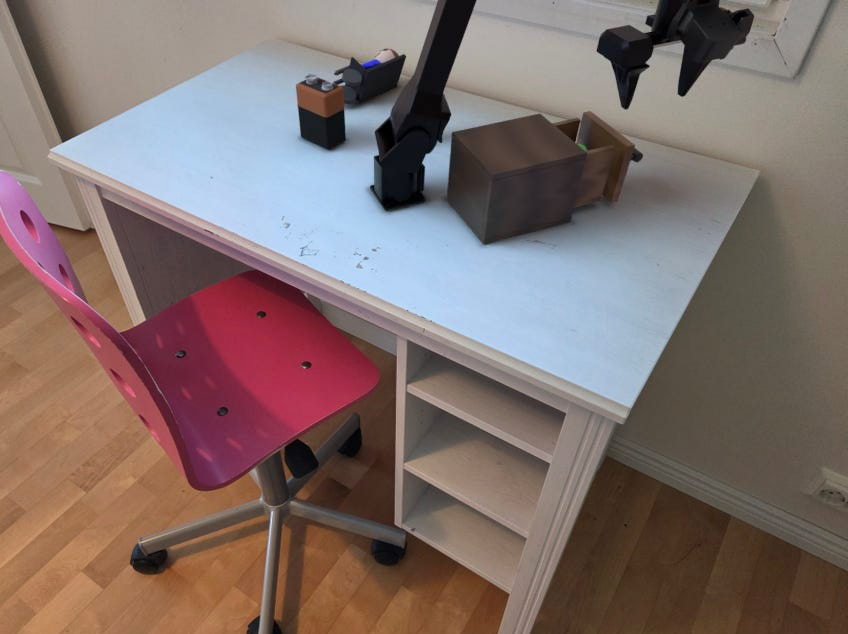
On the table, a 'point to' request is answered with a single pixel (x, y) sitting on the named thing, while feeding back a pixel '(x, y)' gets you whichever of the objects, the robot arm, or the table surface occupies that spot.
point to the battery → (321, 111)
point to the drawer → (600, 158)
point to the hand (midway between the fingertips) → (653, 101)
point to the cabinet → (513, 177)
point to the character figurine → (371, 76)
